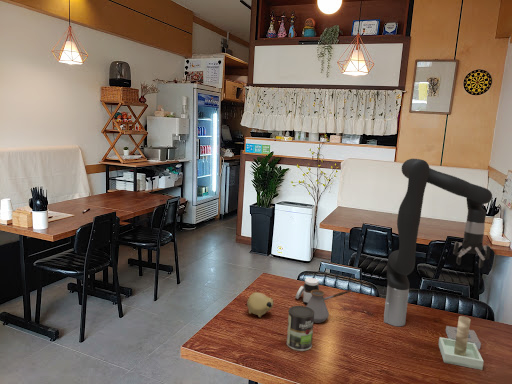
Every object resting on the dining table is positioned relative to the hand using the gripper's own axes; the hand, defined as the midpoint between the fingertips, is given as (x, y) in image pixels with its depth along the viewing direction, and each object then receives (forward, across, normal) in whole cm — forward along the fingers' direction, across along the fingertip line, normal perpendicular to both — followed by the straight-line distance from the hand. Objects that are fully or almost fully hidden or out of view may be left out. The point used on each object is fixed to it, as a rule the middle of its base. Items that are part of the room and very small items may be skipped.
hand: (469, 266), depth 172 cm
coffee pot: (+28, -60, -20) cm, 69 cm away
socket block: (+28, -3, -16) cm, 32 cm away
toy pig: (+29, -90, -27) cm, 98 cm away
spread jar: (+28, -72, -4) cm, 77 cm away
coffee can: (+28, -68, -45) cm, 86 cm away
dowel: (+27, -7, -31) cm, 42 cm away
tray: (+28, -7, -31) cm, 42 cm away
